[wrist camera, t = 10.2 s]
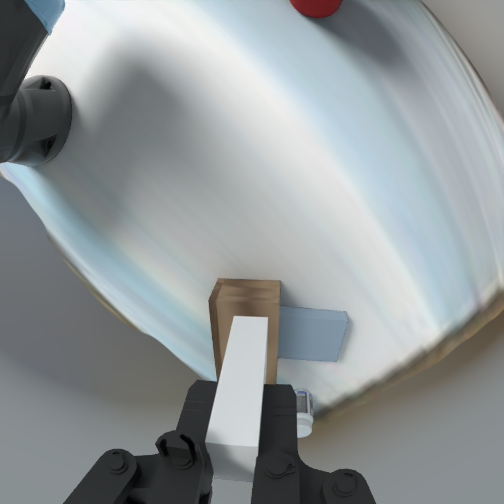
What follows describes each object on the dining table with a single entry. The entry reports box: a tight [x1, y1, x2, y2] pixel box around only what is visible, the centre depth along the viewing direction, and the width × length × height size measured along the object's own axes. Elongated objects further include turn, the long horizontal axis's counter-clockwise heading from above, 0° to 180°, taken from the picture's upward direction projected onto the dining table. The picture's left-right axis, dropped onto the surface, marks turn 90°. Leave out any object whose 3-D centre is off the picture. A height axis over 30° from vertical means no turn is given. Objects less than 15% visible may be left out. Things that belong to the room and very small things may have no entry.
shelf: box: [209, 278, 281, 384], centre depth 44 cm, size 9×15×6 cm, turn 1°
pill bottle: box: [294, 389, 313, 438], centre depth 49 cm, size 5×5×8 cm
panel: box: [277, 306, 348, 362], centre depth 46 cm, size 15×8×3 cm, turn 86°
